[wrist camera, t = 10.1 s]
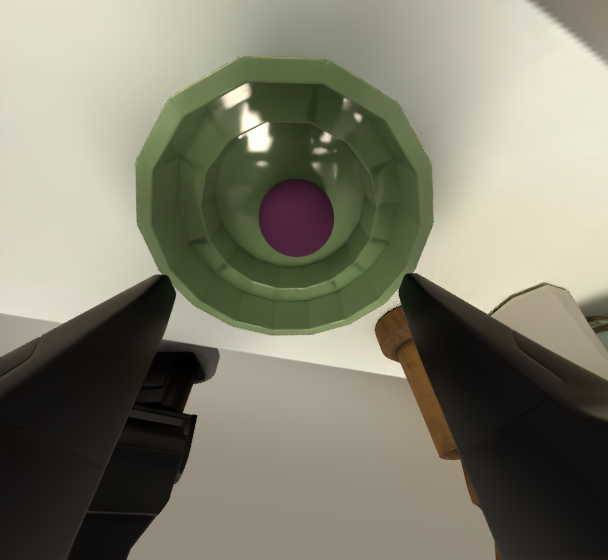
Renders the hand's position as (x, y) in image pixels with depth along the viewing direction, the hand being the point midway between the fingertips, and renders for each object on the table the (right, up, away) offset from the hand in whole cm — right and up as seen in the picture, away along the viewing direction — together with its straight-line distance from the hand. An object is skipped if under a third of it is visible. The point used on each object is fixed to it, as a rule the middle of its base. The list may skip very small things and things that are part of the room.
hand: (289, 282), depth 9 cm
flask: (+23, -3, +15) cm, 28 cm away
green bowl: (0, +5, +7) cm, 9 cm away
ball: (0, +4, +5) cm, 6 cm away
